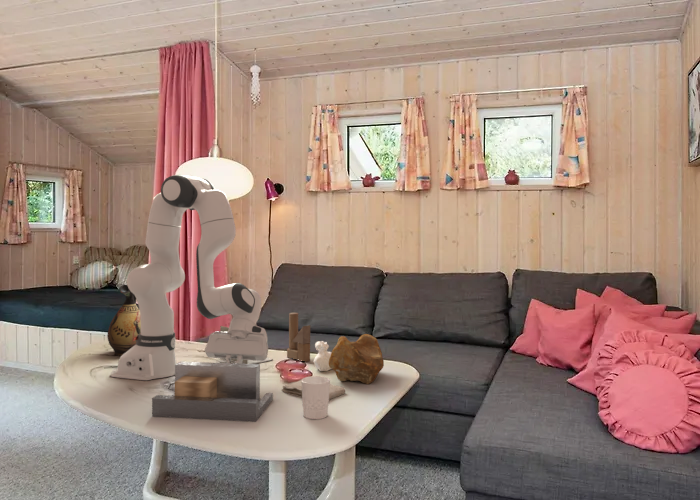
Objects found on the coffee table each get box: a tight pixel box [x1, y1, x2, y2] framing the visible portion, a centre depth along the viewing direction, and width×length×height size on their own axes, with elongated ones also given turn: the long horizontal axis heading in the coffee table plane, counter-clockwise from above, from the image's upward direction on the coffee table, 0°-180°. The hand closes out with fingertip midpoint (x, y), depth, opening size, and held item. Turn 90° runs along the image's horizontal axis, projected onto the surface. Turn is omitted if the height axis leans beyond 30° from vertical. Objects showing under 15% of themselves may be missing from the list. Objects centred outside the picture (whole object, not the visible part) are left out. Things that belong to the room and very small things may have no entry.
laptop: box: [219, 325, 274, 364], centre depth 216 cm, size 18×12×13 cm
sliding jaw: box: [174, 361, 261, 401], centre depth 159 cm, size 24×4×12 cm, turn 84°
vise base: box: [151, 392, 274, 422], centre depth 158 cm, size 29×19×5 cm, turn 84°
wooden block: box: [286, 312, 311, 363], centre depth 216 cm, size 4×11×18 cm, turn 42°
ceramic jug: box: [106, 284, 141, 357], centre depth 223 cm, size 17×15×30 cm
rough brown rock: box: [329, 333, 385, 385], centre depth 189 cm, size 23×17×15 cm
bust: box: [312, 340, 333, 372], centre depth 203 cm, size 12×8×11 cm
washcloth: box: [281, 379, 346, 401], centre depth 173 cm, size 12×18×3 cm, turn 56°
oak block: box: [174, 376, 217, 398], centre depth 155 cm, size 10×6×9 cm, turn 84°
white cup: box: [301, 375, 331, 420], centre depth 152 cm, size 8×8×10 cm
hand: (231, 369), depth 174 cm, fingers closed
